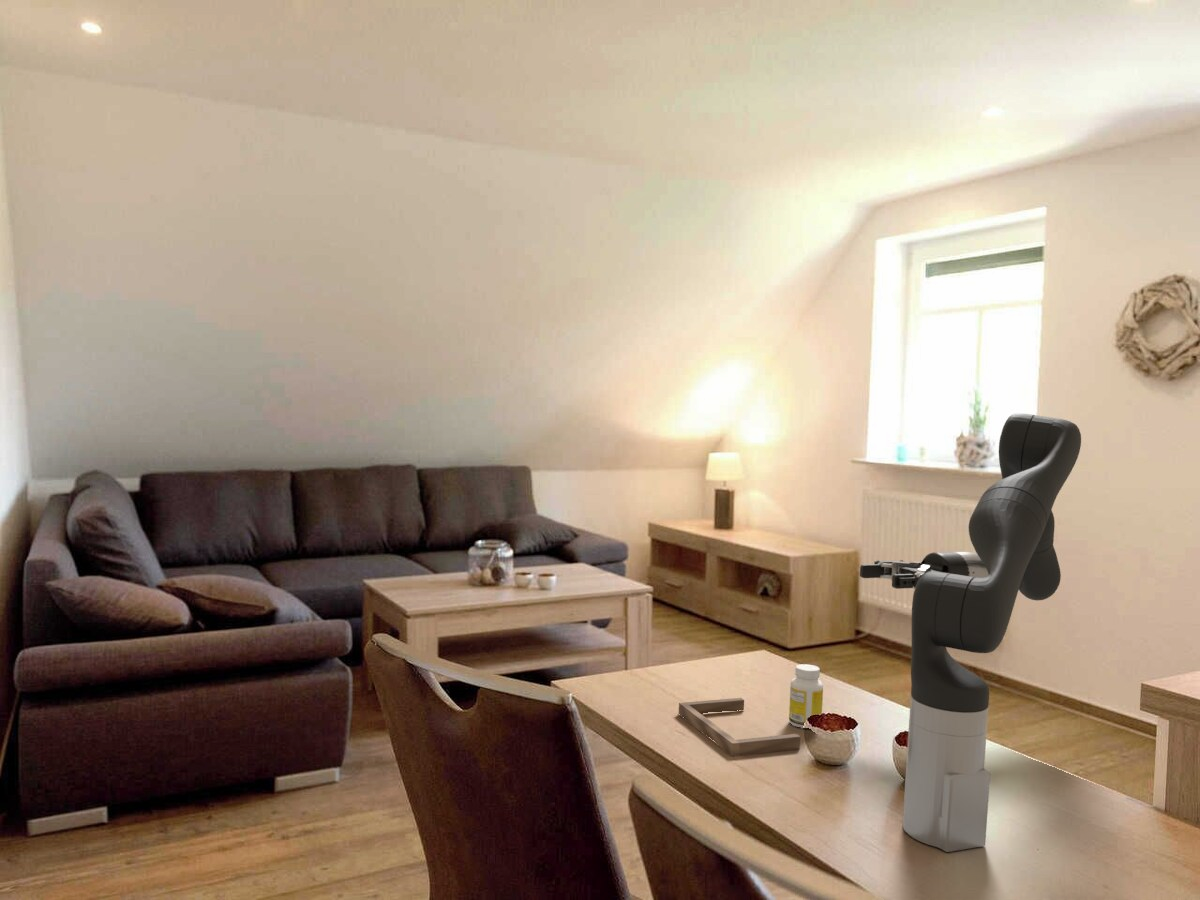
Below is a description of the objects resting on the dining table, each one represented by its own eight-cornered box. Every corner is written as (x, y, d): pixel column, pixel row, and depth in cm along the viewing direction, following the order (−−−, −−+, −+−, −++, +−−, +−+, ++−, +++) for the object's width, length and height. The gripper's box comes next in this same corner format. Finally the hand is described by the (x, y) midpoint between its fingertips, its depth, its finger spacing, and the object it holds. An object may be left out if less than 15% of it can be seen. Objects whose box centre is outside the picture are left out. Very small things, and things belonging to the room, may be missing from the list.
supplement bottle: (818, 720, 158) (822, 664, 158) (823, 731, 153) (826, 673, 152) (786, 717, 159) (790, 661, 158) (790, 728, 153) (793, 670, 153)
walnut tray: (799, 749, 144) (800, 736, 144) (731, 756, 140) (732, 743, 140) (740, 709, 162) (740, 697, 162) (678, 714, 158) (679, 702, 158)
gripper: (928, 545, 165) (852, 546, 159) (987, 559, 152) (906, 561, 146) (925, 586, 165) (849, 589, 160) (984, 604, 152) (903, 608, 146)
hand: (876, 576), depth 153 cm, fingers open, 8 cm apart
